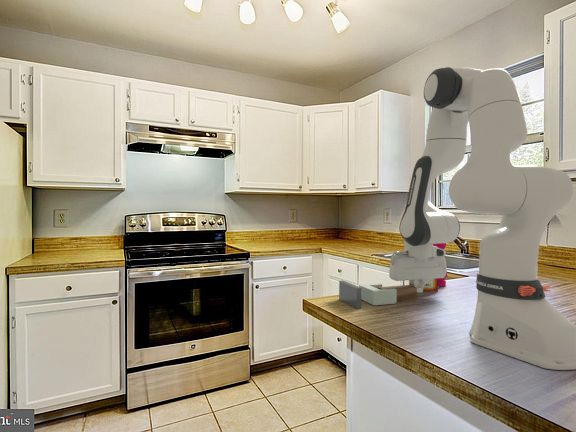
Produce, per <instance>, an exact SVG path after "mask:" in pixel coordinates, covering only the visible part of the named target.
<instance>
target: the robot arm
mask: <svg viewBox="0 0 576 432" xmlns="http://www.w3.org/2000/svg"><path fill="white" fill-rule="evenodd" d="M423 99H424V101H425V103H426V104H427V105H428V107H430V108H433V109H432V110H431V112H430V116H429V119H428V124H427V128H426V135H425V145H424V146H425V147H424V150H423V153H422V155H421V156H420V158H418V160H417V161H416V162H415V164H414V167H413V171H412V176H411V180H410V183H409V189H408V194H407V199H406V203H405V208H404V211H403V214H402V217H401V219H400V223H399V226H398V227H399V233H400V234H399V235H400V236H401V238H402V240H404V242H403V243H404V245H403V246H404V249H403V251H394V252H393V253H392V254H391V255H390V265H389V270H388V273H389V274H388V276H389V278H390V280H392V281H395V282H401V281H409V280H410V284H411V286H414V287H417V285H416V283H417V280H419V281H420V282H419V285H418V287H417V294H419V293H420V294H423V293H424V291H423V287H424V285H425V284H426V279H434V278H444V277H445V276H446V271H447V272H448V270H447V260H446V258H445V257H446V255H447V251H446V250H445V249H444V250H443V249H440V248H437V247H435V246H433V244H439V243H446V244H448V243H451V242H454V241H456V239H457V238H458V237H459V234H460V231H461V225H460V224H461V223H460V220H459V219H458V218H457V216H456V215H455V214H453V213H451V212H447V211H445V210H442V209H439V208H438V207H436V206H435V205H434V204H433V202H431V201H429V198H430V192H431V187H432V184H433V182H434V181H435V180H436V179H437V178H438V177H440V176H441V175H443V174H445V173H447V172H450V171H452V170H454V169H455V168H457V167H458V166H459V165H460V164H461V163H462V162H463V161H464V158H465V155H466V151H467V136H468V124H469V130H470V131H469V132H470V139H471V143H470V144H471V150H470V155H469V157H468V158H467V161H466V163H465V164H464V165H463V166H462V167H461V168H460V169H459V170H457V171H456V172H455V174H454V175H453V176H452V178H451V180H450V181H449V187H448V195H449V198H450V201H451V203H452V204H453V206H454V207H455V208H456V209H458V211H459V210H460V211H463V212H468V213H472V214H476V215H477V214H478V215H501V216H502V217H501V220H500V222H499V224H498V226H497V227H496V228H495V229H494V230H493V231H491V232H489V233H488V234H486V235H484V236H483V237H482V239H481V240H480V242H479V249H478V251H479V252H478V253H479V255H478V257H479V258H478V273H477V274H476V280H475V283H476V287H475V288H476V289H477V299H476V304H475V305H476V307H475V311H474V316H473V322H472V325H471V328H470V330H469V335H470V342H471V343H472V344H475V345H477V346H481V347H483V348H487V349H489V350H491V351H494V352H498V353H500V354H503V355H506V356H508V357H512V358H515V359H517V360H520V361H524V362H526V363H529V364H531V365H535V366H537V367H540V368H543V369H547V370H548V369H549V370H554V371H555V370H556V371H557V370H559V371H567V370H568V371H569V370H570V371H571V370H576V325H575V323H573V322H572V321H571V320H569V319H568V318H567V317H566V316H565V315H564V314H563V313H562V312H560V311H559V310H558V309H557V308H556V307H555V306H554V305H553V304H552V303H551V302H550V301H549V300H547V298H546V294H545V292H550V291H551V289H549V288H551V285H542V283H541V281H540V279H539V278H538V264H539V263H538V262H539V253H540V252H539V250H540V244H541V240H542V237H543V235H544V232H545V230H546V228H547V226H548V225H549V222H551V220H552V219H553V218H554V217H555V215H557V214H558V213H559V212H561V211H562V210H563V209H564V208H566V207H567V206H568V205H569V203H570V201H571V200H572V198H573V193H574V184H573V181H572V178H571V177H570V176H569V175H568V173H566V172H565V171H563V170H560V169H556V168H552V167H547V166H543V165H514V164H512V162H511V153H513V152H515V151H517V150H518V149H519V148H520V147H522V145H523V144H524V142H525V141H526V140H527V136H528V129H527V124H526V119H525V114H524V110H523V105H522V101H521V97H520V94H519V92H518V88H517V86H516V84H515V82H514V79H513V78H512V76H511V74H510V73H509V72H508V71H507V70H506V69H503V68H499V67H498V68H496V67H495V68H488V69H485V70H484V69H478V68H477V69H476V68H473V67H453V68H452V67H450V66H449V67H448V66H447V67H440V68H436V69H434V70H433V71H432V72H431V73H430V74H429V76H428V77H427V78H426V81H425V83H424V87H423Z"/></svg>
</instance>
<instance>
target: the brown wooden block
mask: <svg viewBox="0 0 576 432" xmlns="http://www.w3.org/2000/svg"><path fill="white" fill-rule="evenodd" d="M378 289H380V290H382V289H397V300H396V303H398V302H408V301H417V300H418V293H417V287H414V286H411V285H409V284H404V285H391V286H390V285H389V286H382V287H378ZM416 299H417V300H416Z"/></svg>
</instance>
